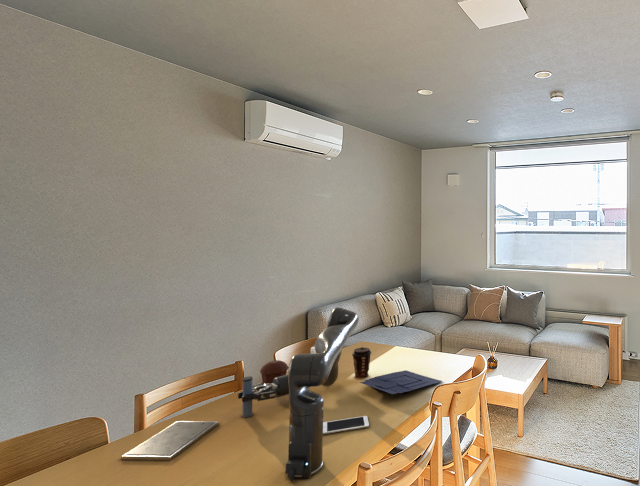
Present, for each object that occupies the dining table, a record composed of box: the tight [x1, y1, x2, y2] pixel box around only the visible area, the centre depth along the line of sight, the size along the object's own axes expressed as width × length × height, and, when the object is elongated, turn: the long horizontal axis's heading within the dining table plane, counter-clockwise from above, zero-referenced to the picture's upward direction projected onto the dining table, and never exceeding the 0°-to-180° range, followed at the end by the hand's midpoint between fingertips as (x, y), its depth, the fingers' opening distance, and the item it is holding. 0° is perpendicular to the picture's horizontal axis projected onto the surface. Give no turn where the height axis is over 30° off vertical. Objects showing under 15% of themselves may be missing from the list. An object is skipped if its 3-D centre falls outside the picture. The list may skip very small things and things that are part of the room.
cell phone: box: [323, 415, 370, 435], centre depth 140 cm, size 8×16×1 cm, turn 111°
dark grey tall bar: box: [242, 375, 254, 418], centre depth 147 cm, size 3×3×14 cm
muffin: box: [259, 359, 289, 384], centre depth 177 cm, size 12×11×10 cm
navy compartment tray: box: [359, 370, 443, 395], centre depth 176 cm, size 24×30×4 cm
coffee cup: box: [351, 346, 372, 380], centre depth 187 cm, size 9×8×13 cm
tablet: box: [121, 420, 220, 461], centre depth 129 cm, size 22×15×1 cm
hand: (240, 397), depth 145 cm, fingers open, 4 cm apart
